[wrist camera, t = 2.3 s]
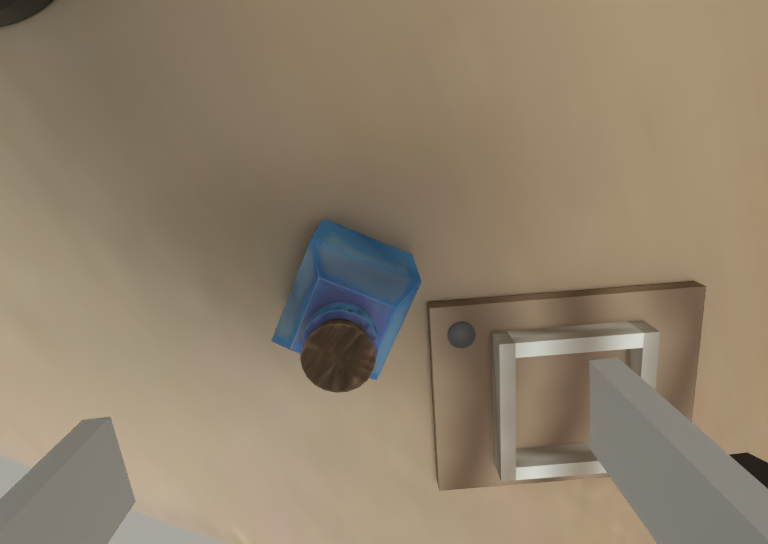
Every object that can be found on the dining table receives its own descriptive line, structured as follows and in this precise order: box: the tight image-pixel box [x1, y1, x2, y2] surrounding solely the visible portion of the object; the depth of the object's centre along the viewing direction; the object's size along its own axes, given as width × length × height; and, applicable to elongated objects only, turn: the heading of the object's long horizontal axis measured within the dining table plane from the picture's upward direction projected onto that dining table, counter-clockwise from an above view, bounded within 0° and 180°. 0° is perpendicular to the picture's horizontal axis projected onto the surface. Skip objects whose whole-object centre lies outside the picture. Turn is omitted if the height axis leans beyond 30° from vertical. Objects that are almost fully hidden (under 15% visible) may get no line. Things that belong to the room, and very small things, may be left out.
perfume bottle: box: [272, 219, 421, 392], centre depth 26 cm, size 6×6×12 cm
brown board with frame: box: [427, 281, 706, 491], centre depth 33 cm, size 18×14×3 cm
